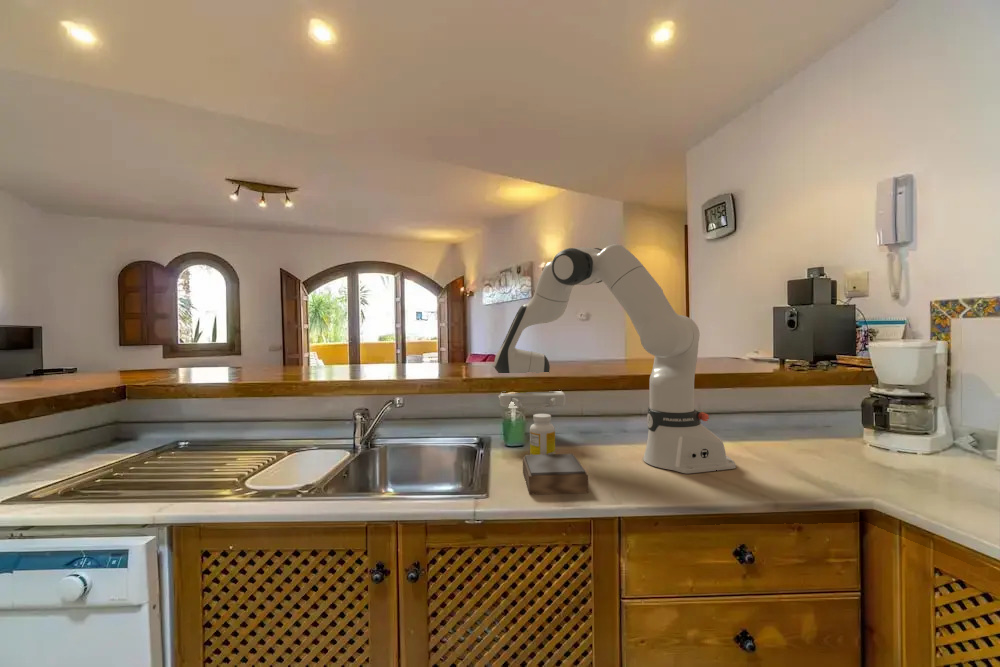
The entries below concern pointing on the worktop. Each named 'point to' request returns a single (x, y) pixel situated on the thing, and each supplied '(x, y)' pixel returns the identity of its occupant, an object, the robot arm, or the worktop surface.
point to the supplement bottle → (542, 435)
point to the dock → (554, 474)
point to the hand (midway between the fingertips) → (535, 404)
